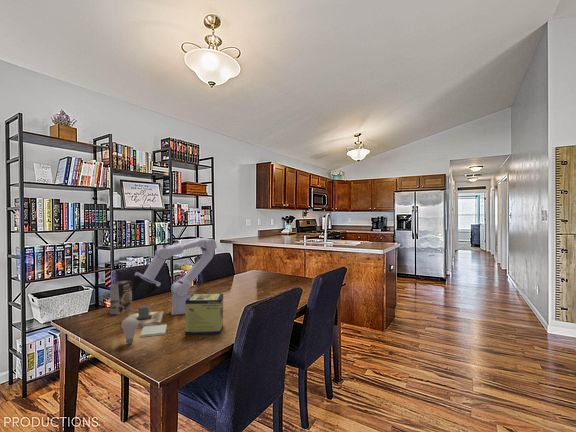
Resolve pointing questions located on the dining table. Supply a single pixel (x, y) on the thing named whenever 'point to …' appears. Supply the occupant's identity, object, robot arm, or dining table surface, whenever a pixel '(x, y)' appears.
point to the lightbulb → (129, 328)
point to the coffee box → (120, 297)
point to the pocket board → (153, 321)
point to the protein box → (204, 314)
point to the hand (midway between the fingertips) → (138, 294)
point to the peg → (144, 312)
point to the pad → (153, 330)
